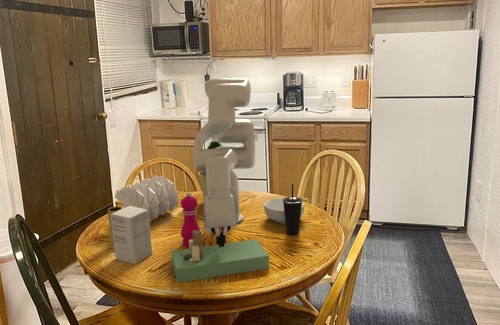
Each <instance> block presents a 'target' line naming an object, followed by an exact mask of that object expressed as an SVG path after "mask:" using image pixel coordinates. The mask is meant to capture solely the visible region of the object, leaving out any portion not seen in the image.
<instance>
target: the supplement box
mask: <svg viewBox="0 0 500 325" xmlns="http://www.w3.org/2000/svg"><path fill="white" fill-rule="evenodd" d="M111 222H112V232H113V241H114V248H113V249H114V257H115V260H118V261H122V262H125V263H129V264H131V265H132V264H133V265H135V264H137V263H139V262H140V261H142V260H144V259H146V258H147V257H149V256H151V255H152V254H153V248H152V237H151V234H152V233H151V224H150V223H151V222H150V220H149V211H148V210H147V209H143V208H138V207H133V206H128V207H126V208H124V209H123V208H122V209H121V210H119V211H117V212H114V213H112V214H111Z"/></svg>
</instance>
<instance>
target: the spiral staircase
mask: <svg viewBox="0 0 500 325" xmlns="http://www.w3.org/2000/svg"><path fill="white" fill-rule="evenodd" d="M178 194H179V192H178V190H177V189H176V187H175V185H174V182H173V181H170V180H169V179H168V178H166V176H158V174H155V175H154V176H152V177H151V178H150V177H149V178H146V177H145V178H144V179H143V180H141V182H136V183H134V184H133V185H131V184H129V185H128V186H127V185H125V186H123V187H122V188H121V189H118V188H117V189H116V192H115V195H114V198H115V199H116V200H117V201H118V202H120V203H121V204H123V207H122V209H124V208H126V207H128V206H133V207H138V208H143V209H147V210H148V211H149V222H150V223H151V222H153V220H155V219H158V218H159V216H160V215H161V216H165V214H166V213H167V211H169V212H170V213H172V212H173V211H174V210H175V209H176V208H178V206H179V200H180V199H179V197H178V196H179V195H178Z"/></svg>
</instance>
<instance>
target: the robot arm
mask: <svg viewBox="0 0 500 325" xmlns="http://www.w3.org/2000/svg"><path fill="white" fill-rule="evenodd" d="M203 88H204V91H205V92H204V93H205V95H206V97H207V98H208V111H207V112H208V114H207V123H205V125H203V126H202V127H201V129H200V130H199V131H198V133H197V135H195V136H196V137H195V139H194V142H193V158H192V160H193V166H194V168H195V170H196V171H198V172H206V178H207V196H205V200H204V199H203V223H204V226H203V230H204V231H205V232H211V233H213V234H214V235H215V243H216V244H215V245H219V247H225V245H224V244H227V239H226V238H227V237H226V236H227V235H228V232H230V231H231V230H232V229H235V228H236V227H237V224H239V223H241V222H243V220H244V215H243V214H242V213H241V212H240V186H239V178H238V176H237V174H236V173H235V171H234V170H246V169H247V170H248V169H252V168H254V167H255V165H256V134H255V127H254V123H253V121H252V120H250V119H248V118H247V119H246V118H244V119H243V118H242V119H241V118H239V119H237V118H236V108H245V107H248V106H249V105H250V102H251V93H252V92H251V89H252V88H251V83H250V81H249V79H248V78H246V77H217V78H210V79H207V80H206V81H205V83H204V87H203ZM213 137H215V140H216V141H217V142H219V143H221V144H242V145H221V146H220V147H217V148H215V149H207V148H203V147H204V145H205V143H206V142H208V140H210V139H212V138H213ZM219 228H221V231H220V229H219Z"/></svg>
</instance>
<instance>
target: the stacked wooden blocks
mask: <svg viewBox="0 0 500 325" xmlns="http://www.w3.org/2000/svg"><path fill="white" fill-rule="evenodd" d="M202 247H203V234H202V231H201V229H200V230H195V231H193V239H191V240H189V247H188V249H189V250H190V253H191V256H192V258H193V261H197V260H200V257H201V256H203V253H202Z"/></svg>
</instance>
